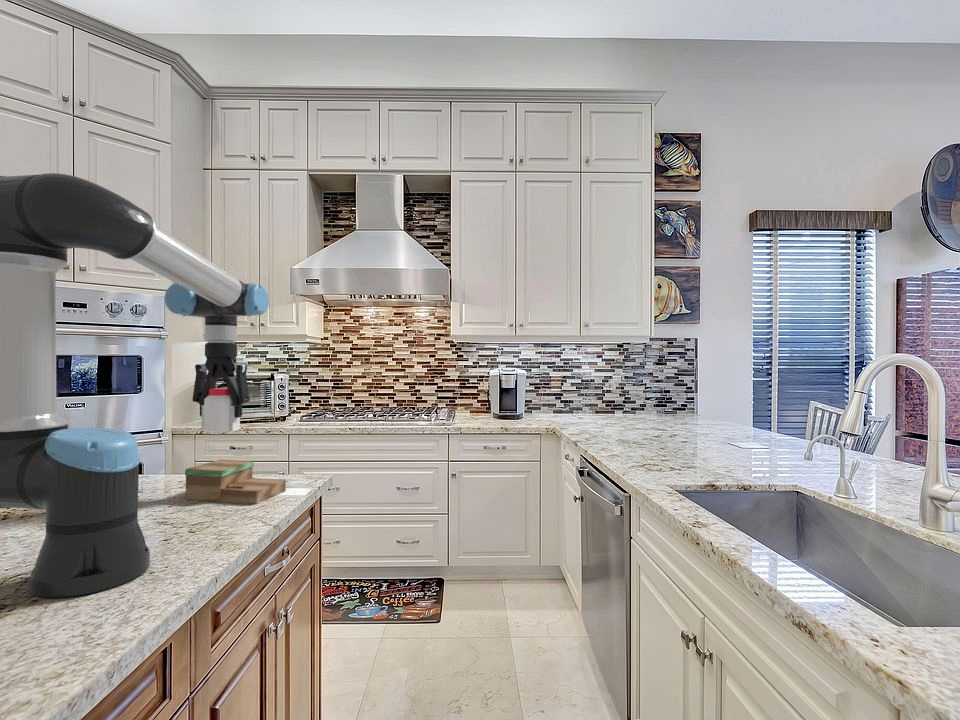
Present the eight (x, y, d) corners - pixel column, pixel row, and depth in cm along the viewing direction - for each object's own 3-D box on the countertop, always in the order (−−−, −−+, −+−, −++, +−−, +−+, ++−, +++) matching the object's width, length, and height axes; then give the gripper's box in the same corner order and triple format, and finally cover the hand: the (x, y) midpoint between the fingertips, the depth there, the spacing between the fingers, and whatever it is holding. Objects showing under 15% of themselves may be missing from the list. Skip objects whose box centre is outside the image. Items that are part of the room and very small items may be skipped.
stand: (255, 504, 119) (256, 473, 119) (184, 499, 123) (185, 469, 123) (285, 491, 131) (285, 462, 131) (220, 486, 135) (220, 459, 135)
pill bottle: (243, 428, 132) (243, 387, 132) (225, 433, 124) (225, 389, 124) (216, 428, 132) (216, 387, 132) (196, 432, 125) (197, 389, 125)
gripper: (265, 342, 130) (264, 429, 130) (198, 343, 134) (197, 426, 134) (246, 341, 122) (246, 433, 122) (175, 342, 126) (175, 430, 126)
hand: (220, 429), depth 128 cm, fingers closed on pill bottle, 8 cm apart
